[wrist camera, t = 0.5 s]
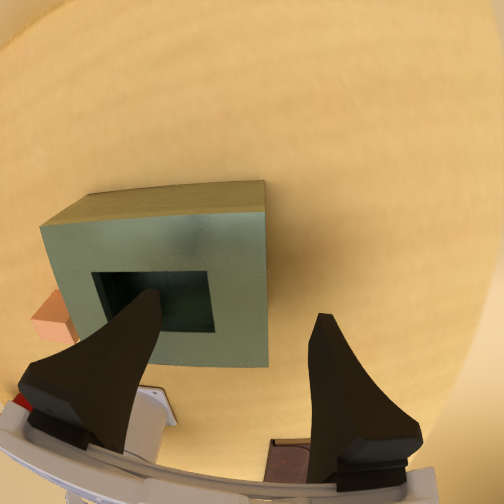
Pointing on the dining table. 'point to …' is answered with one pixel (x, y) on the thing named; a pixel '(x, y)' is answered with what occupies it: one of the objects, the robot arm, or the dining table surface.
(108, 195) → the green tissue box
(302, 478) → the notebook
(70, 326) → the orange rectangular block
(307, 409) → the dining table surface
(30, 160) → the dining table surface
